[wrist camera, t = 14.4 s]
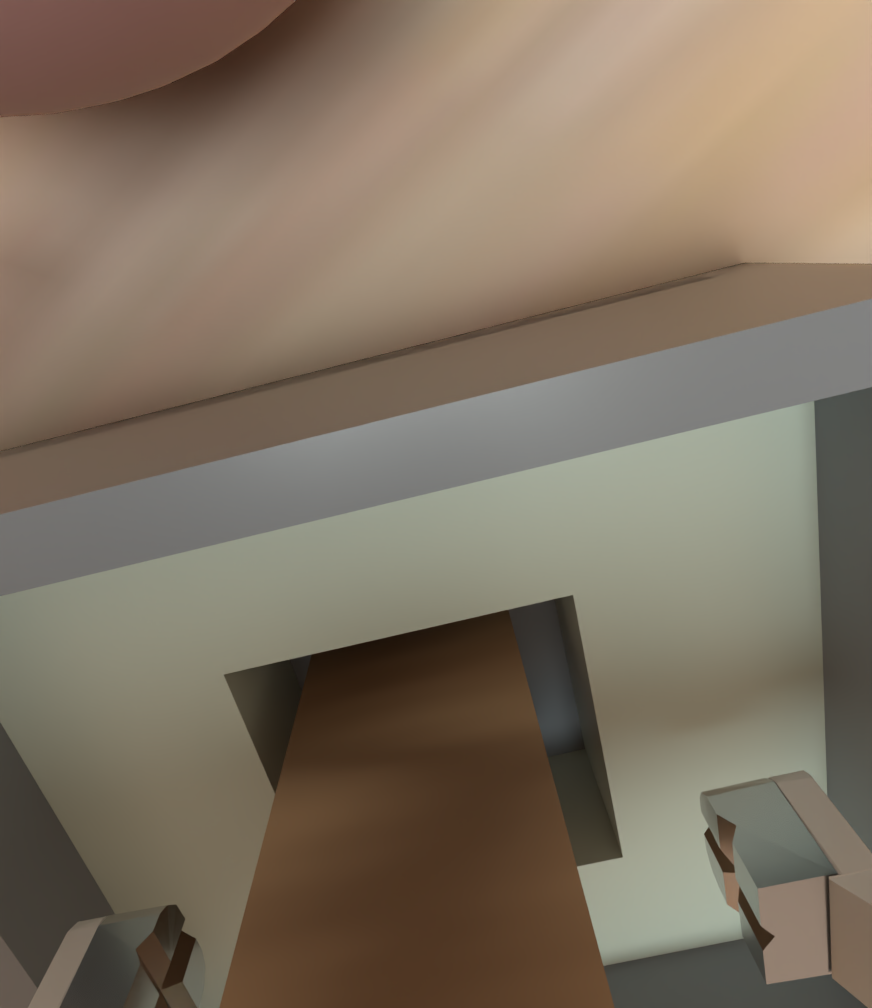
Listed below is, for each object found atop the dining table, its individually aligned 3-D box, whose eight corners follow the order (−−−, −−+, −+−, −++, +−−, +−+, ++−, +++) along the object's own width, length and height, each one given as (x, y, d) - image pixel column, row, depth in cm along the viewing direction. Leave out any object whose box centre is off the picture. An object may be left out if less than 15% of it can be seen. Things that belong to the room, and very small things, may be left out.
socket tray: (218, 913, 18) (132, 1201, 13) (-19, 456, 14) (-326, 594, 8) (780, 798, 18) (952, 1052, 12) (744, 262, 13) (1007, 265, 7)
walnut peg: (370, 762, 15) (301, 1539, 6) (320, 621, 14) (130, 1346, 5) (534, 727, 15) (726, 1475, 6) (500, 580, 14) (680, 1254, 4)
